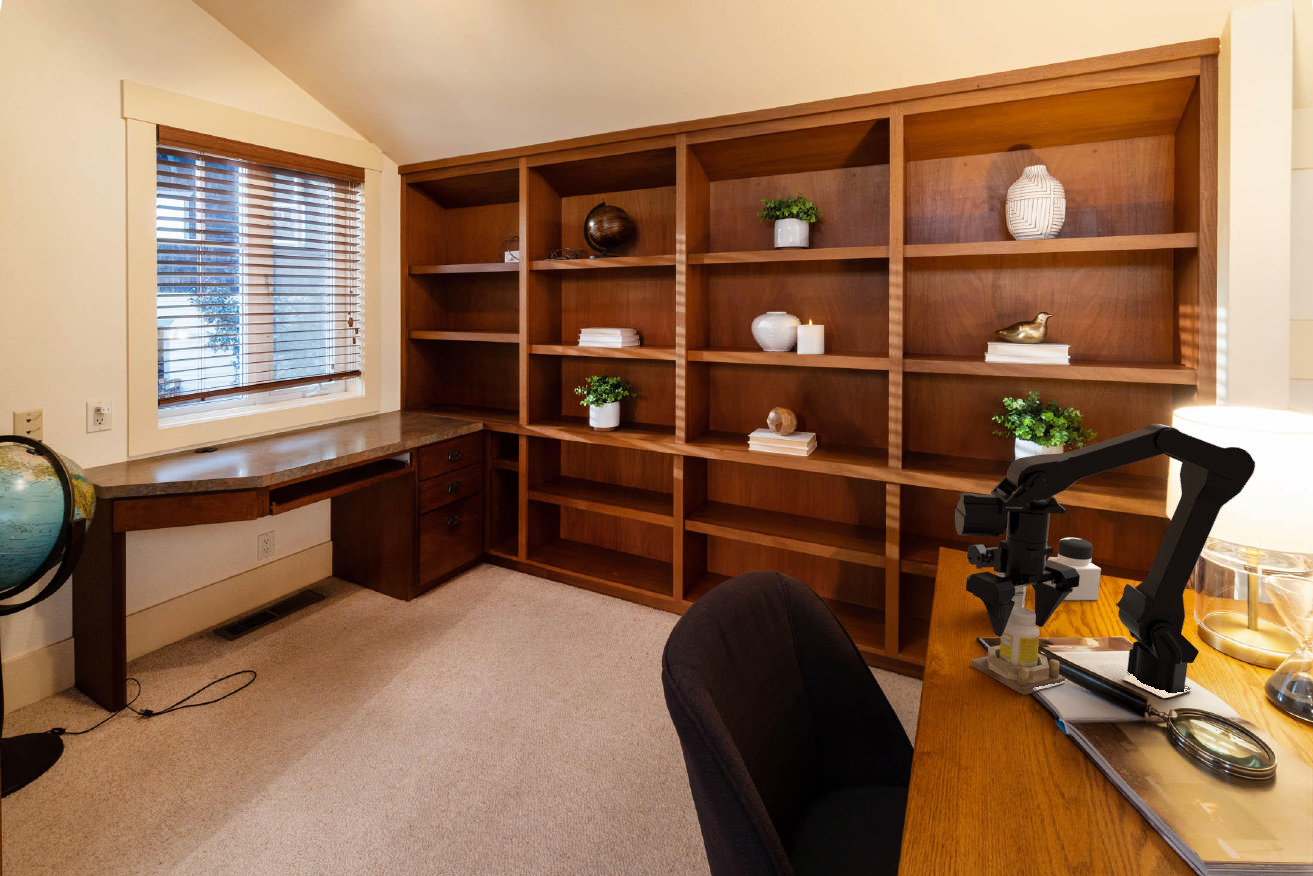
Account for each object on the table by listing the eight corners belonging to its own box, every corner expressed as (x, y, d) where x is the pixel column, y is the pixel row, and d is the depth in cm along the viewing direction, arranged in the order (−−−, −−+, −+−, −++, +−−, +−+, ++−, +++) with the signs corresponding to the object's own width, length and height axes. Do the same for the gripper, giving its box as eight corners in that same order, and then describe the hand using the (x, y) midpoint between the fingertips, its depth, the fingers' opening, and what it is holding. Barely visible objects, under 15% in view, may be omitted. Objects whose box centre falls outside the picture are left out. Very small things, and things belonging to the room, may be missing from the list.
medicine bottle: (1098, 600, 137) (1104, 545, 135) (1064, 600, 137) (1069, 545, 135) (1077, 587, 144) (1082, 535, 142) (1044, 588, 144) (1049, 535, 142)
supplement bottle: (1040, 667, 107) (1045, 611, 106) (1031, 680, 103) (1036, 621, 102) (1004, 657, 111) (1008, 602, 110) (994, 669, 107) (998, 612, 106)
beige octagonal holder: (1064, 683, 104) (1066, 663, 104) (1023, 695, 101) (1025, 674, 101) (1010, 655, 114) (1011, 637, 113) (971, 665, 110) (972, 646, 110)
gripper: (1024, 518, 115) (1017, 603, 117) (942, 530, 108) (936, 620, 110) (1086, 536, 104) (1076, 629, 107) (999, 551, 98) (992, 649, 100)
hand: (1018, 630), depth 106 cm, fingers open, 9 cm apart
